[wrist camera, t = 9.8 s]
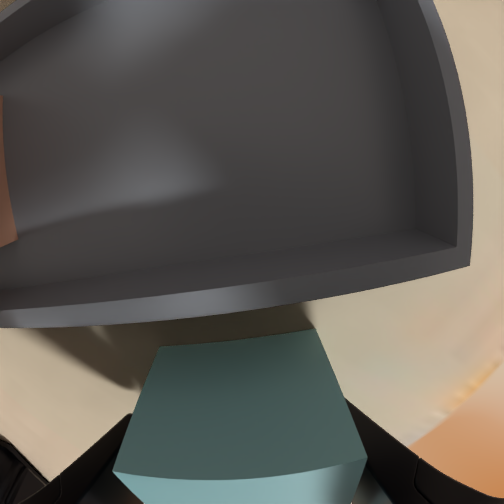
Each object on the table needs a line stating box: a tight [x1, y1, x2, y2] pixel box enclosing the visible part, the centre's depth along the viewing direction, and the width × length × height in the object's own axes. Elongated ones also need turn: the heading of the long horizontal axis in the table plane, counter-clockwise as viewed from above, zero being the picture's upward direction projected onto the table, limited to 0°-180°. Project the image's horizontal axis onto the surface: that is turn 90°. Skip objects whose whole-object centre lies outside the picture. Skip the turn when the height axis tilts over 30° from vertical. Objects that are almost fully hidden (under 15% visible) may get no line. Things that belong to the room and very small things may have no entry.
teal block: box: [112, 329, 368, 504], centre depth 6 cm, size 4×4×4 cm
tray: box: [0, 0, 473, 328], centre depth 5 cm, size 18×8×2 cm, turn 98°
